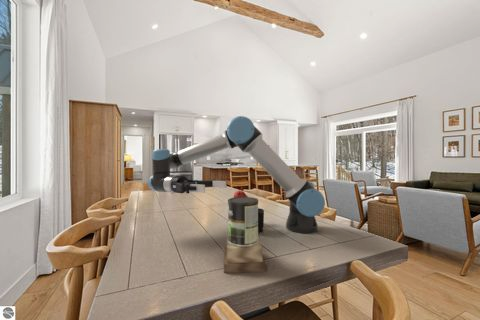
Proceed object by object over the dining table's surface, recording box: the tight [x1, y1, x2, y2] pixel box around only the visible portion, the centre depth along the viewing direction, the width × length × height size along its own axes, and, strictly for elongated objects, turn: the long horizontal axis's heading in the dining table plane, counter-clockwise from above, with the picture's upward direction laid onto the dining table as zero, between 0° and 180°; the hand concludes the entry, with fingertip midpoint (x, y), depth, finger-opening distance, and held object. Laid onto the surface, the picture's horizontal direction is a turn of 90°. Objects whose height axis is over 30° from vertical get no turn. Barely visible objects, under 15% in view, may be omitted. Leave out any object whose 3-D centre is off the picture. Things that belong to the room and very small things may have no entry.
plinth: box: [223, 235, 267, 274], centre depth 73 cm, size 13×13×7 cm
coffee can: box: [227, 196, 259, 247], centre depth 73 cm, size 10×10×14 cm
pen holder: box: [258, 207, 265, 234], centre depth 105 cm, size 9×9×10 cm
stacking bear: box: [233, 189, 249, 198], centre depth 117 cm, size 11×10×18 cm
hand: (215, 186), depth 84 cm, fingers open, 13 cm apart
